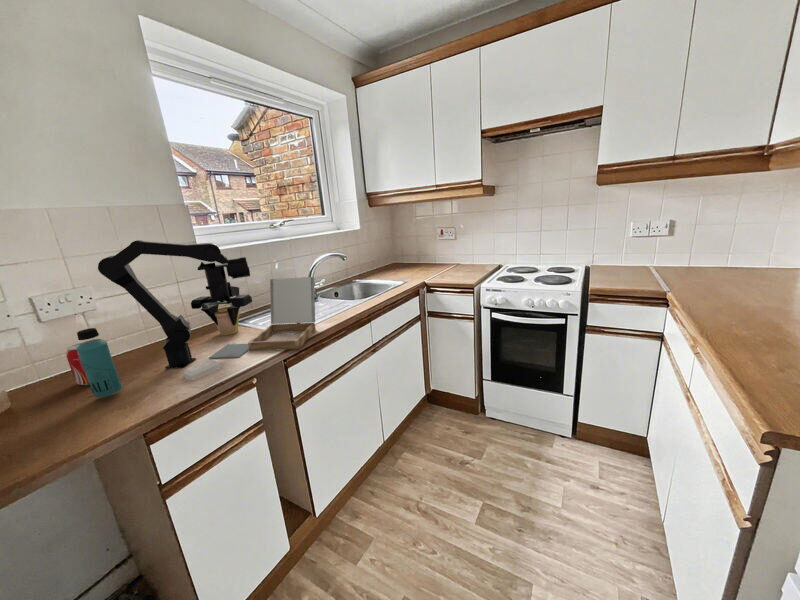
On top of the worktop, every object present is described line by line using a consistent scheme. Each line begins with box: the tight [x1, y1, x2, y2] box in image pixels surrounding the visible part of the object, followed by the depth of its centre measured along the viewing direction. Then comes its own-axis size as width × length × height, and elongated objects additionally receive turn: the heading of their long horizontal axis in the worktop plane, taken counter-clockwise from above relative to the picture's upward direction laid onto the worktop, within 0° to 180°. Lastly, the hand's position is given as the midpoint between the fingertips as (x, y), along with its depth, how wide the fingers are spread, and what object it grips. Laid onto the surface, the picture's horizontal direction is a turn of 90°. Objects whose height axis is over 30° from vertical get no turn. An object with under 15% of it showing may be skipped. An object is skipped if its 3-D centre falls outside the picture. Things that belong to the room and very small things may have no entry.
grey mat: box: [208, 343, 249, 360], centre depth 119 cm, size 11×11×1 cm
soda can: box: [65, 342, 89, 386], centre depth 103 cm, size 7×7×12 cm
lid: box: [269, 276, 316, 325], centre depth 135 cm, size 18×18×1 cm
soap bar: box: [182, 359, 222, 381], centre depth 104 cm, size 5×9×3 cm, turn 144°
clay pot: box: [214, 309, 236, 334], centre depth 116 cm, size 6×6×7 cm
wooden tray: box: [247, 322, 317, 352], centre depth 126 cm, size 18×18×3 cm
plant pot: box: [211, 305, 241, 336], centre depth 137 cm, size 10×10×10 cm
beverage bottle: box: [76, 327, 123, 398], centre depth 91 cm, size 6×7×20 cm
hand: (227, 325), depth 116 cm, fingers closed on clay pot, 5 cm apart
